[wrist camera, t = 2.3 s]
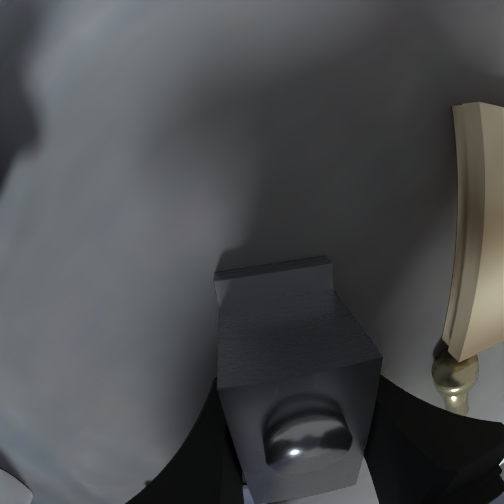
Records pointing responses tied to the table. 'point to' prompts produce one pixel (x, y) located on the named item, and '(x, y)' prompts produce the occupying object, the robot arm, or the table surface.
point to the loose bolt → (455, 380)
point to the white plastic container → (13, 490)
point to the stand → (478, 233)
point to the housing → (293, 378)
